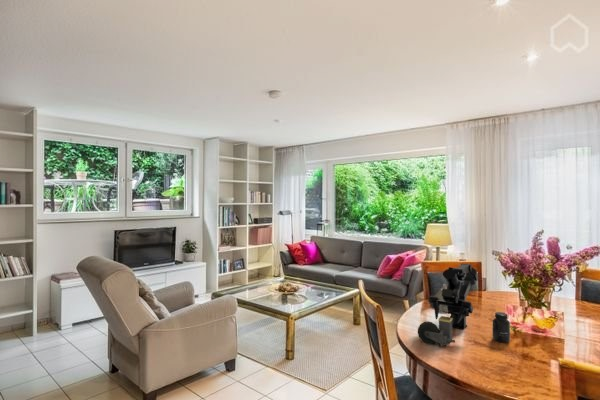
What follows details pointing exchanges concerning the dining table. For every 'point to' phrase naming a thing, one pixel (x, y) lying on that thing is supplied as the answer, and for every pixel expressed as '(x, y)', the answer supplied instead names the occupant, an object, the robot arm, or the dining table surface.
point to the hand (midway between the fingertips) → (446, 320)
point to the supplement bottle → (501, 328)
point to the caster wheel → (432, 334)
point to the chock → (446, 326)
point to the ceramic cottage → (440, 297)
